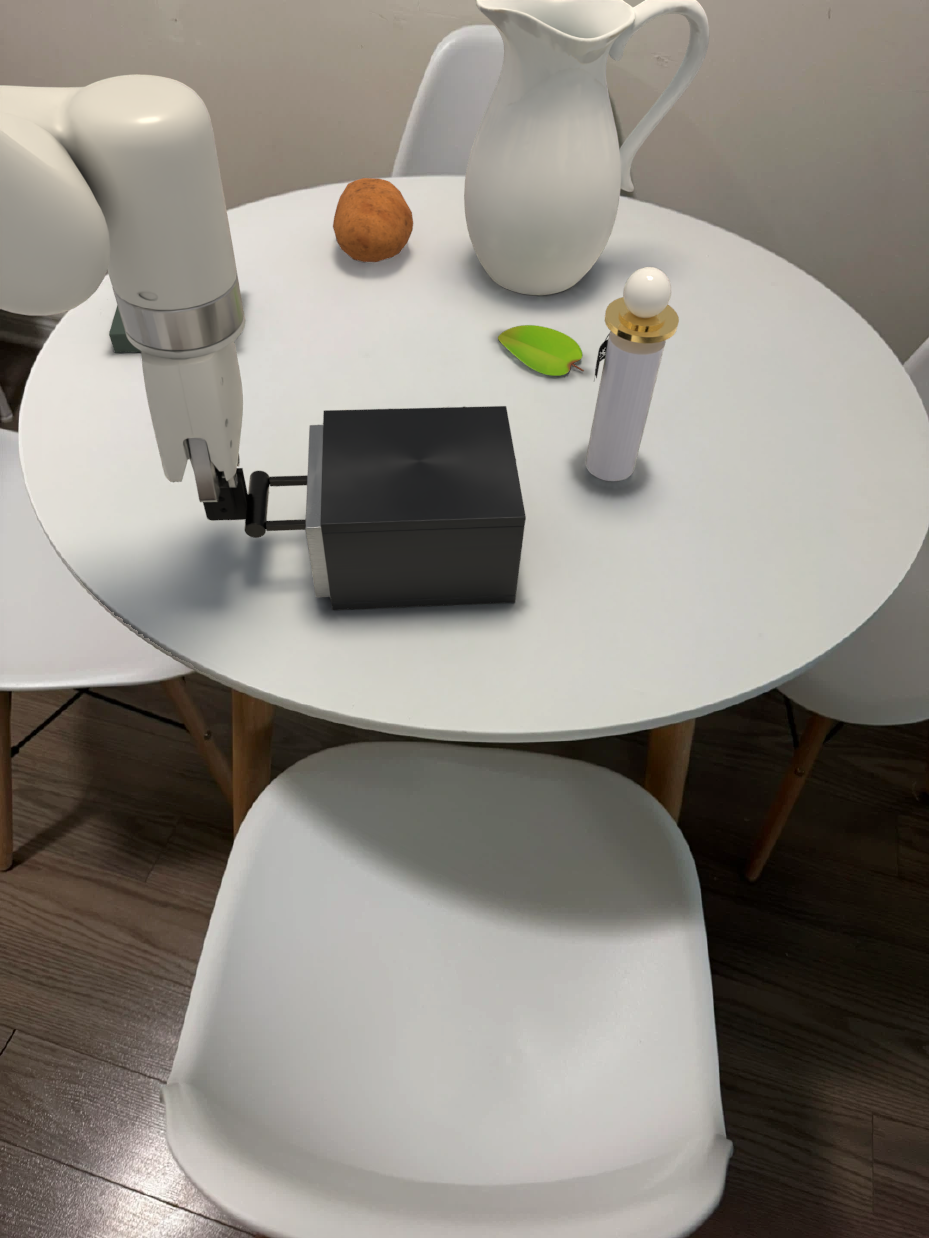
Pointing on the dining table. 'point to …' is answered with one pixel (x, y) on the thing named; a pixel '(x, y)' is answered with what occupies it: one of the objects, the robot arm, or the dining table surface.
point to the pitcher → (560, 136)
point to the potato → (372, 220)
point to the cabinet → (420, 507)
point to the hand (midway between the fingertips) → (228, 512)
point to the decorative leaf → (542, 348)
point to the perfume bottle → (629, 372)
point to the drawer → (312, 524)
